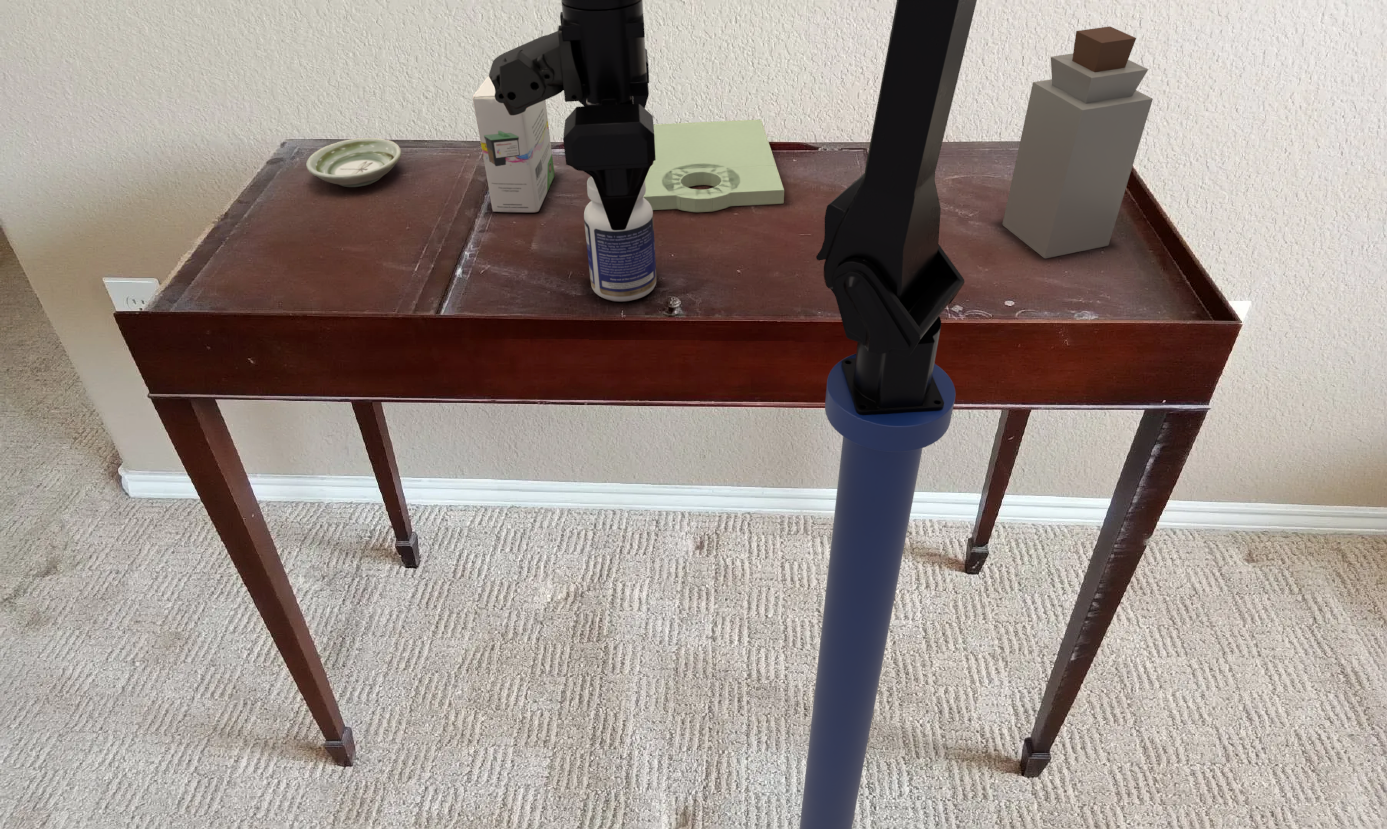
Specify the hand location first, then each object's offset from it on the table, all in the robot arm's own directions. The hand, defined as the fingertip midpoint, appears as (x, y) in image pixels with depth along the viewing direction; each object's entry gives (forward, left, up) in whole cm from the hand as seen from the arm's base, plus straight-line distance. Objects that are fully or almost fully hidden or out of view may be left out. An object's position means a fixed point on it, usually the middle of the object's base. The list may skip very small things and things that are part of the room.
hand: (618, 202), depth 75 cm
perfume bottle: (+5, -40, -8) cm, 41 cm away
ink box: (+19, +10, -8) cm, 23 cm away
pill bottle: (0, 0, -8) cm, 8 cm away
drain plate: (+23, -8, -8) cm, 26 cm away
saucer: (+25, +28, -8) cm, 38 cm away
